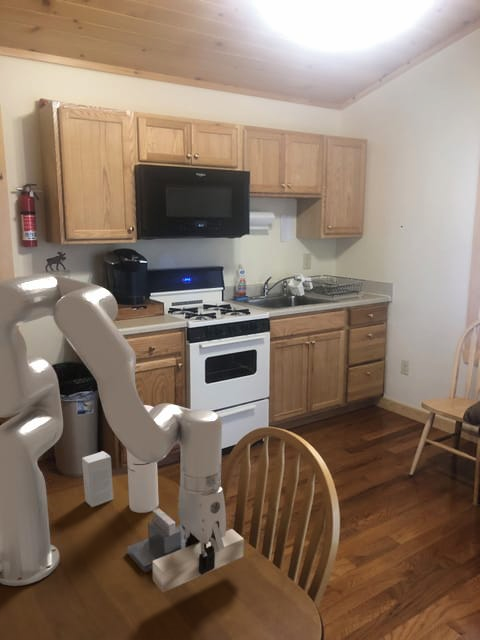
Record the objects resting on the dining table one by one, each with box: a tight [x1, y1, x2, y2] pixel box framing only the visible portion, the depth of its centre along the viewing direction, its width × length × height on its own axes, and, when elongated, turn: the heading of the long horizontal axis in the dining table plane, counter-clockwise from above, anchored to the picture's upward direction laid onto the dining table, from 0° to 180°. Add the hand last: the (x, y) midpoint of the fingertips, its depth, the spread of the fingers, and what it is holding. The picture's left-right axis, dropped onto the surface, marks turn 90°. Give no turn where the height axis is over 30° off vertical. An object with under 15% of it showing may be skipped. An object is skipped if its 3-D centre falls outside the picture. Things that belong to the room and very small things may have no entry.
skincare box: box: [81, 450, 114, 508], centre depth 131 cm, size 6×4×12 cm
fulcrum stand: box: [126, 507, 186, 574], centre depth 112 cm, size 14×8×8 cm, turn 128°
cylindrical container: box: [126, 404, 159, 514], centre depth 128 cm, size 7×7×25 cm
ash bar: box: [152, 528, 245, 593], centre depth 100 cm, size 18×4×4 cm, turn 126°
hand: (199, 563), depth 100 cm, fingers closed on ash bar, 4 cm apart
